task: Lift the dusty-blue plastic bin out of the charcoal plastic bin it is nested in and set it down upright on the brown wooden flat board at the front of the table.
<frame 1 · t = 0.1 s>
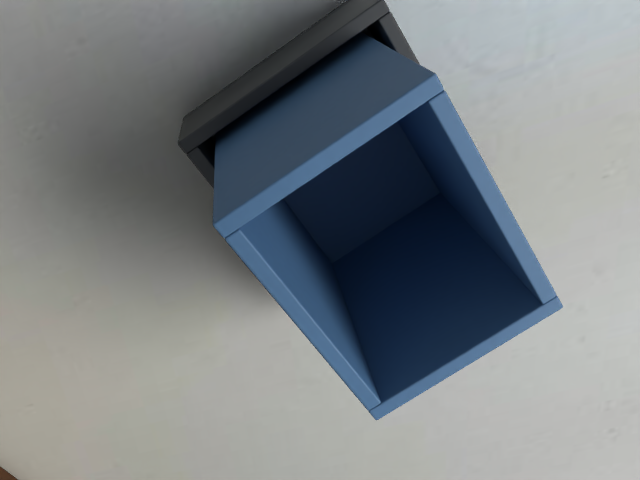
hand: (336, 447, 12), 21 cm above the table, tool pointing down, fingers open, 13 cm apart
charcoal bin: (337, 156, 31), on the table
blue bin: (339, 159, 31), resting on charcoal bin
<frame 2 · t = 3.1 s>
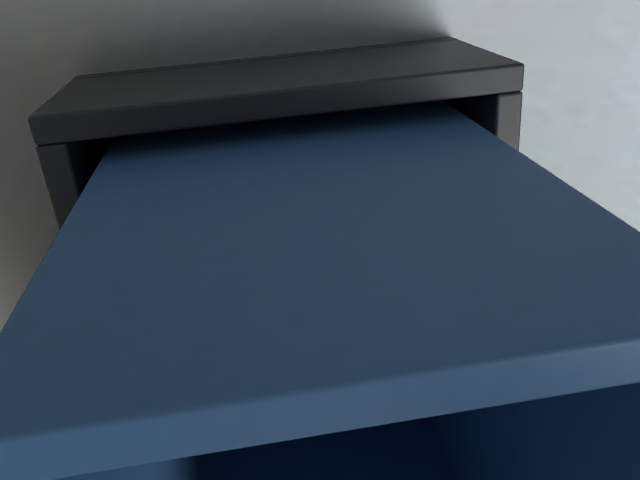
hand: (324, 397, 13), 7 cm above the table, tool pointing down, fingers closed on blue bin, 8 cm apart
charcoal bin: (292, 256, 19), on the table
blue bin: (293, 263, 19), point 1 cm above the table, touching charcoal bin, gripper
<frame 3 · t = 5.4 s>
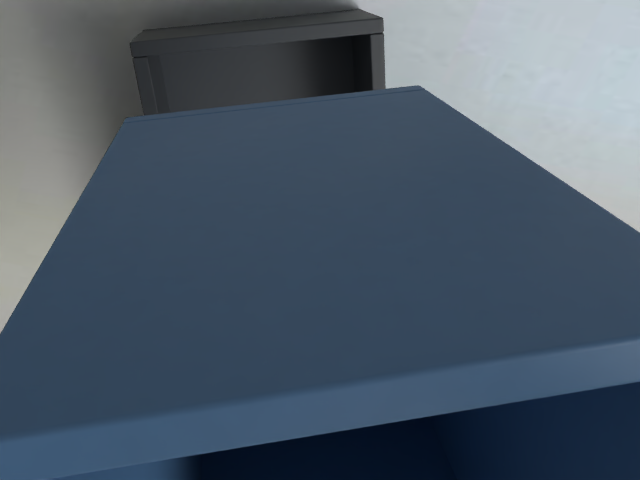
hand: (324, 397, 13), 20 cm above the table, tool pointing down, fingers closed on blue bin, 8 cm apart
charcoal bin: (268, 146, 31), on the table
blue bin: (293, 263, 19), point 14 cm above the table, touching gripper
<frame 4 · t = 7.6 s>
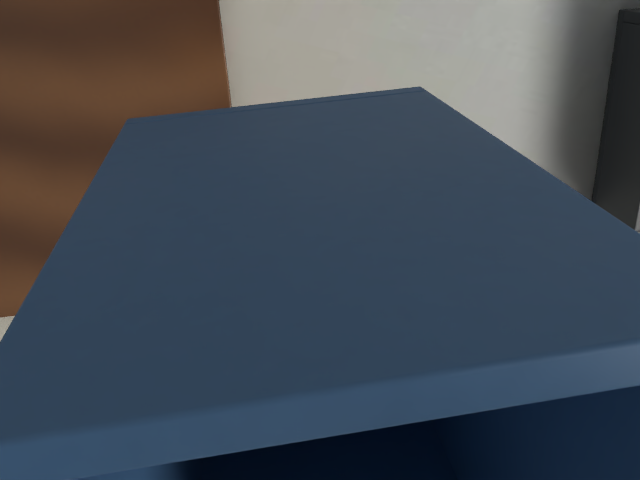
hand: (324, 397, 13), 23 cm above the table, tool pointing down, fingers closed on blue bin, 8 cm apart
brown wooden flat board: (82, 133, 32), on the table
blue bin: (294, 264, 19), point 17 cm above the table, touching gripper
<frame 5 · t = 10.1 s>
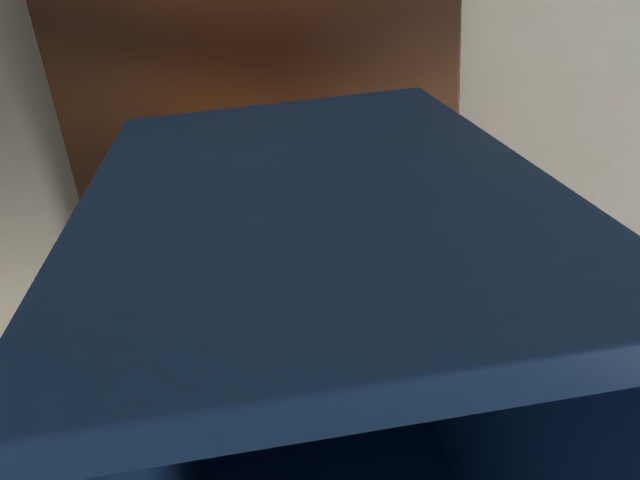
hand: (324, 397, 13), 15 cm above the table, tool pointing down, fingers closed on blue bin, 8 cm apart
brown wooden flat board: (272, 168, 26), on the table
blue bin: (293, 265, 19), point 9 cm above the table, touching gripper
when the fingers open (7 cm above the table, at t = 12.3 s): blue bin stays where it is, resting on brown wooden flat board.
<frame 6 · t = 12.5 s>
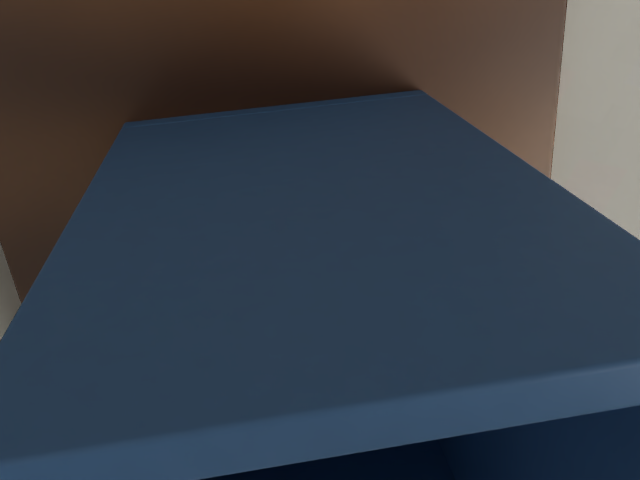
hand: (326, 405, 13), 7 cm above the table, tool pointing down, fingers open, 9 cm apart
brown wooden flat board: (291, 251, 19), on the table
blue bin: (294, 269, 18), point 1 cm above the table, touching brown wooden flat board
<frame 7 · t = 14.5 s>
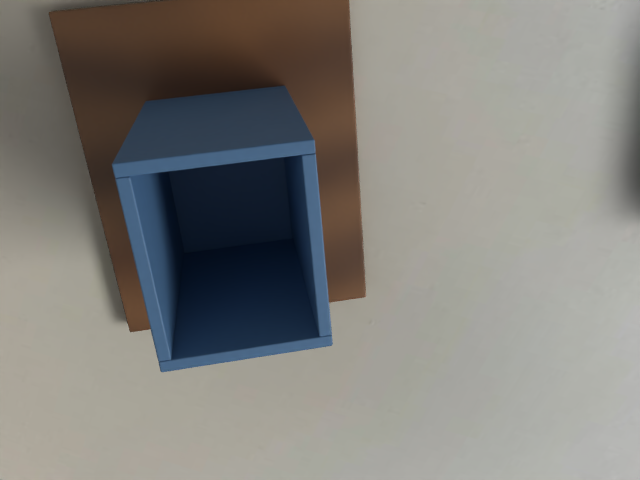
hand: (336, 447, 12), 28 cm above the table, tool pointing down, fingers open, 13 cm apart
brown wooden flat board: (228, 169, 38), on the table
blue bin: (228, 175, 37), point 1 cm above the table, touching brown wooden flat board
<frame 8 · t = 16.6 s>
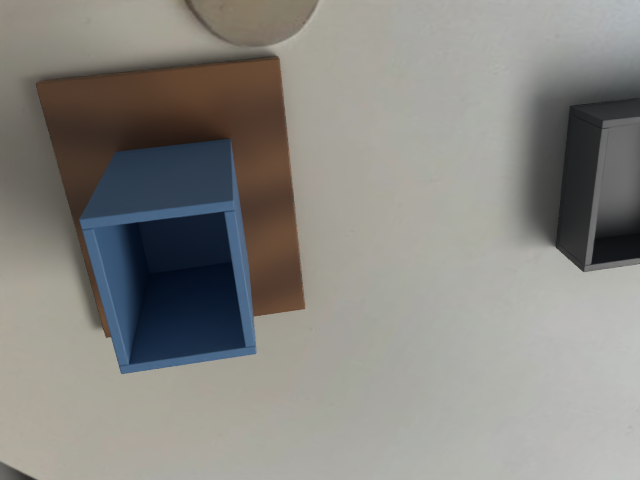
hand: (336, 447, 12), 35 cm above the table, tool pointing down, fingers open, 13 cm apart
brown wooden flat board: (186, 204, 46), on the table
charcoal bin: (621, 172, 50), on the table
blue bin: (185, 210, 45), point 1 cm above the table, touching brown wooden flat board
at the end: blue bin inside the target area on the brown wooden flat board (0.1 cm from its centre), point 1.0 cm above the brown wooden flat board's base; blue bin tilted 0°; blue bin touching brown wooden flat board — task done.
